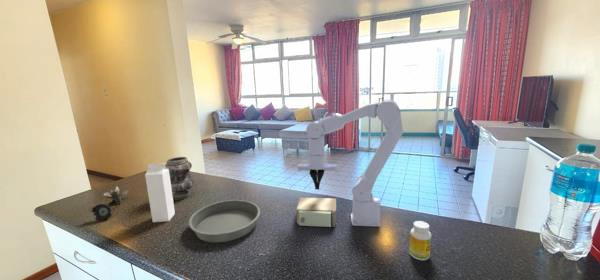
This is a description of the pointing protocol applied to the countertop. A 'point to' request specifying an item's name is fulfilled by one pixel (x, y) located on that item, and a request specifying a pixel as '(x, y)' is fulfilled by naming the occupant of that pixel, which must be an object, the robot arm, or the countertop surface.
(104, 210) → the artificial flower
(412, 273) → the countertop surface
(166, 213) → the milk
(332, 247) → the countertop surface
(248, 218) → the cake pan
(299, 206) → the cabinet
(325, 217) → the door
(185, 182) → the carved stone vase
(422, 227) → the supplement bottle
